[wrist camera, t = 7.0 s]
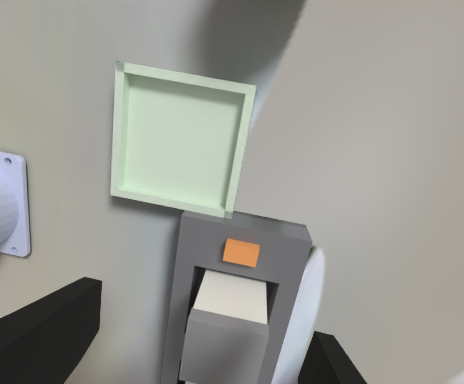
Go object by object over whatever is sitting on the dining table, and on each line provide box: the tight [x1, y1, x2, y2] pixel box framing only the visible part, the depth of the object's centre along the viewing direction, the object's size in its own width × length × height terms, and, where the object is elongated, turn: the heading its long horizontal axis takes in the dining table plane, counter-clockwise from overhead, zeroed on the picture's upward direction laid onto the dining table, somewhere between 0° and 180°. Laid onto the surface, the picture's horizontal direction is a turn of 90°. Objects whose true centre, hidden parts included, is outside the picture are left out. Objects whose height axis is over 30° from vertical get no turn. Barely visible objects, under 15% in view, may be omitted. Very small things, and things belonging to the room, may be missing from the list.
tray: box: [110, 61, 257, 219], centre depth 17 cm, size 8×8×2 cm
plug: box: [179, 268, 269, 384], centre depth 17 cm, size 4×4×6 cm
